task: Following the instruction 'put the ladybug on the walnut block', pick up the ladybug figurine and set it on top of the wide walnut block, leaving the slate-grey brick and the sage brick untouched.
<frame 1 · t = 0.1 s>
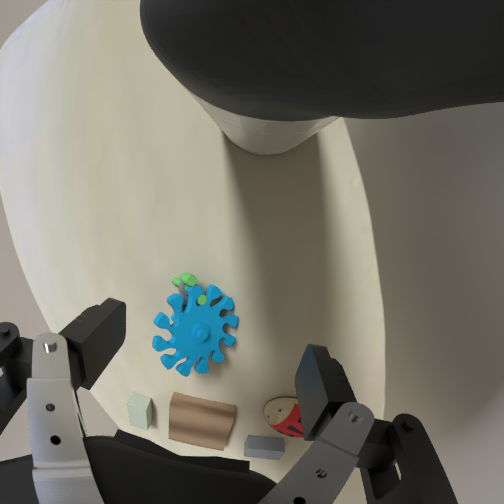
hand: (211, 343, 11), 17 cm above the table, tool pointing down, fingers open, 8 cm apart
ladybug figurine: (291, 410, 35), on the table
sage brick: (143, 405, 35), on the table
walnut block: (201, 416, 36), on the table
slate brick: (263, 440, 37), on the table
gear: (203, 308, 30), on the table
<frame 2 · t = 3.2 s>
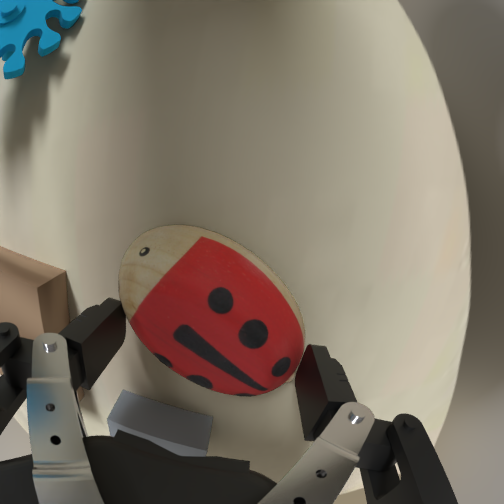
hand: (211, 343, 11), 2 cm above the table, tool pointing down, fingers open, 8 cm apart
ladybug figurine: (215, 304, 13), on the table, touching gripper
walnut block: (30, 318, 14), on the table
slate brick: (166, 415, 15), on the table
gear: (45, 28, 8), on the table
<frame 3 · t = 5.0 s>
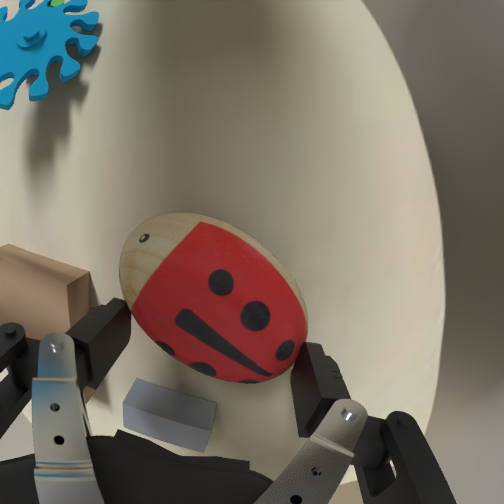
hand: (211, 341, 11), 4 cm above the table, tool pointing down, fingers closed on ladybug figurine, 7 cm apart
ladybug figurine: (217, 291, 13), point 2 cm above the table, touching gripper
walnut block: (50, 315, 16), on the table
slate brick: (173, 402, 17), on the table
gear: (63, 51, 11), on the table
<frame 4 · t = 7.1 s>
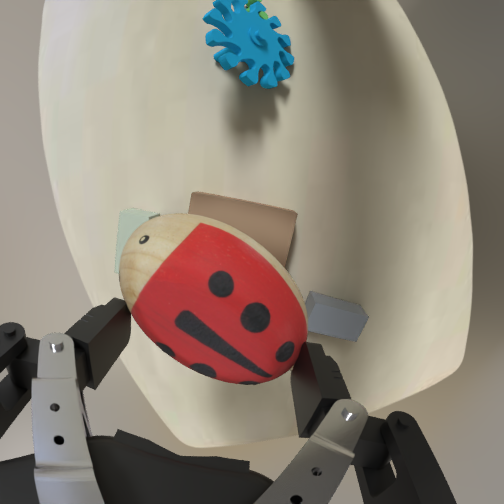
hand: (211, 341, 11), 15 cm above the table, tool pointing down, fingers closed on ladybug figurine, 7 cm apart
ladybug figurine: (217, 293, 13), point 13 cm above the table, touching gripper
sage brick: (142, 239, 26), on the table
walnut block: (235, 251, 26), on the table
slate brick: (330, 310, 28), on the table
gear: (253, 53, 21), on the table
when the fingers open (5 cm above the table, at t = 9.1 s): ladybug figurine moves 1 cm, resting on walnut block.
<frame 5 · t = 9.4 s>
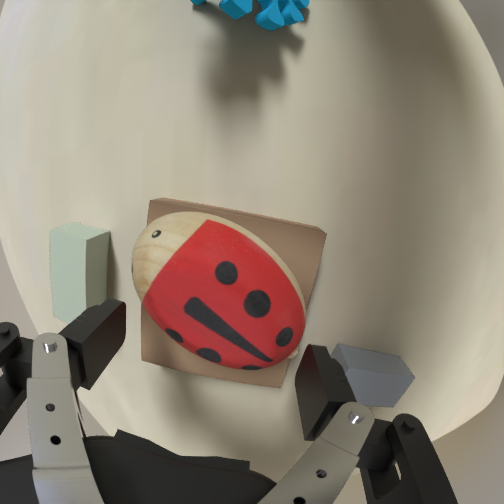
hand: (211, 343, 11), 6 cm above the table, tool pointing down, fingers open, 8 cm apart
ladybug figurine: (221, 285, 14), point 2 cm above the table, touching walnut block
sage brick: (91, 268, 16), on the table
walnut block: (226, 287, 17), on the table, touching ladybug figurine
slate brick: (361, 365, 18), on the table
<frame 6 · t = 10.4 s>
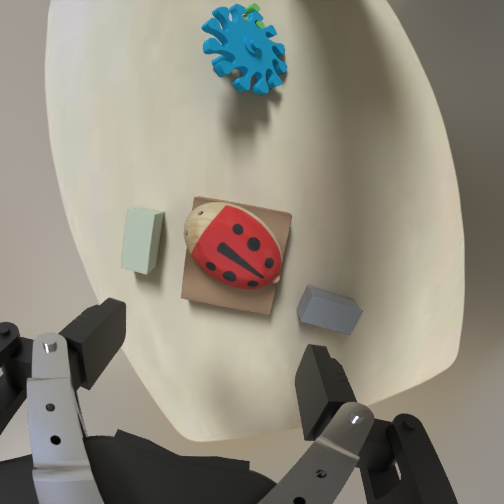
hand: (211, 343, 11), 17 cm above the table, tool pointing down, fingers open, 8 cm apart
ladybug figurine: (233, 243, 25), point 2 cm above the table, touching walnut block
sage brick: (147, 236, 27), on the table
walnut block: (235, 251, 28), on the table, touching ladybug figurine
slate brick: (325, 304, 29), on the table
gear: (249, 60, 23), on the table
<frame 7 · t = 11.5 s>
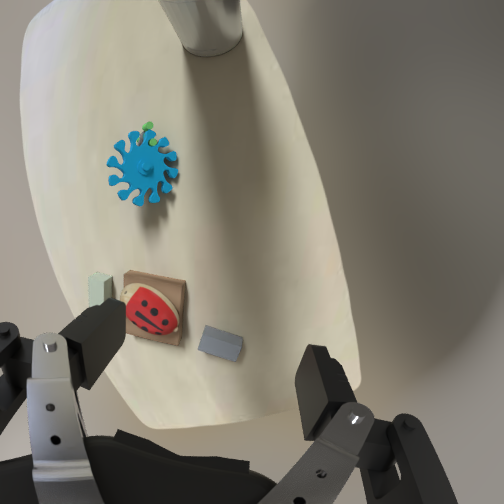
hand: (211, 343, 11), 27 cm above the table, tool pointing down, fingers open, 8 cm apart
ladybug figurine: (151, 306, 37), point 2 cm above the table, touching walnut block
sage brick: (104, 290, 39), on the table
walnut block: (156, 303, 40), on the table, touching ladybug figurine
slate brick: (221, 338, 41), on the table
gear: (154, 165, 35), on the table
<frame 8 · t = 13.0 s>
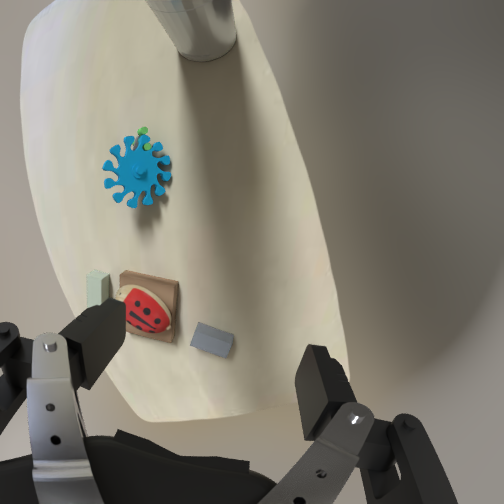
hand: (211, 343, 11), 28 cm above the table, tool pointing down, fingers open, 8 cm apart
ladybug figurine: (145, 305, 39), point 2 cm above the table, touching walnut block
sage brick: (102, 287, 41), on the table
walnut block: (151, 302, 42), on the table, touching ladybug figurine
slate brick: (213, 335, 43), on the table
gear: (148, 168, 36), on the table
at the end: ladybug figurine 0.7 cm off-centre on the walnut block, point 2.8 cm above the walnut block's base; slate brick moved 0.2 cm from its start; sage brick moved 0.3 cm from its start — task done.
